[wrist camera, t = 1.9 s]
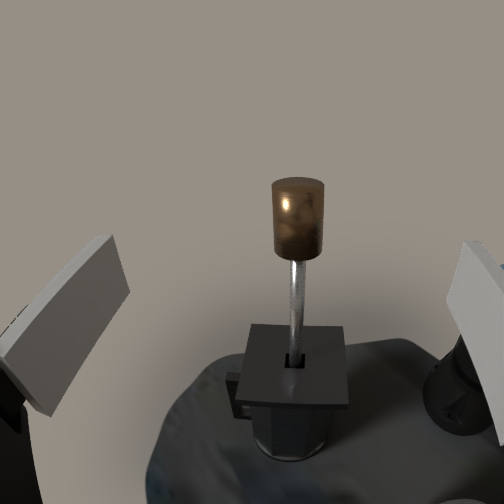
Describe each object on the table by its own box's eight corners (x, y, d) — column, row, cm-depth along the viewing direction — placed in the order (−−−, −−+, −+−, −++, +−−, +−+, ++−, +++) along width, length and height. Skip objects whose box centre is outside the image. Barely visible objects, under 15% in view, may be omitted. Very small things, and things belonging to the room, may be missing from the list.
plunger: (326, 358, 35) (343, 171, 23) (326, 410, 28) (358, 205, 17) (265, 356, 36) (253, 170, 25) (256, 407, 30) (235, 204, 19)
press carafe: (328, 401, 42) (342, 326, 34) (327, 463, 33) (348, 403, 25) (243, 397, 44) (231, 322, 36) (231, 457, 35) (210, 396, 27)
